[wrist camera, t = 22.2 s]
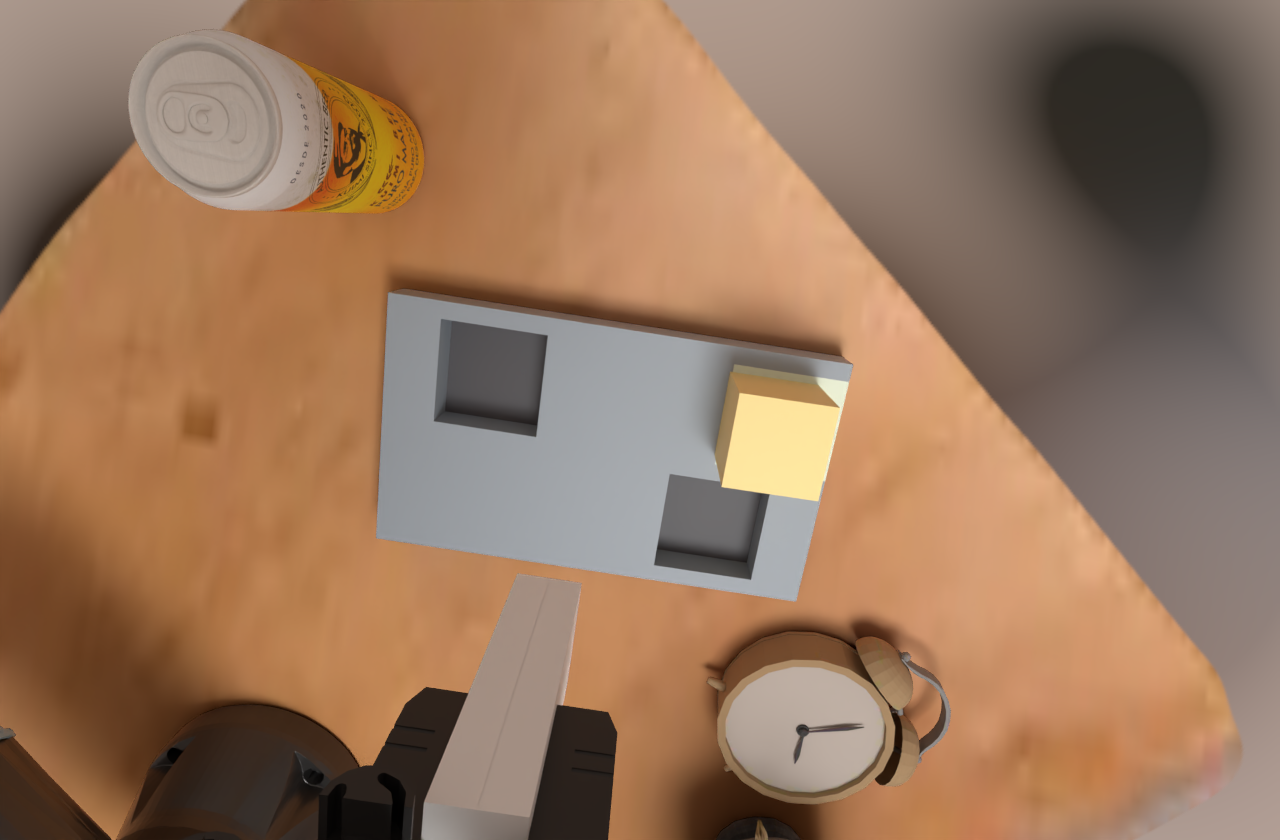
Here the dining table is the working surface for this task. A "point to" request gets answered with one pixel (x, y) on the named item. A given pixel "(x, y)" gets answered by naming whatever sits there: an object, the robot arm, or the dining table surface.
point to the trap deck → (582, 444)
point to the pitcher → (758, 830)
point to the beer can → (268, 130)
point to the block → (775, 436)
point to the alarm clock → (820, 716)
